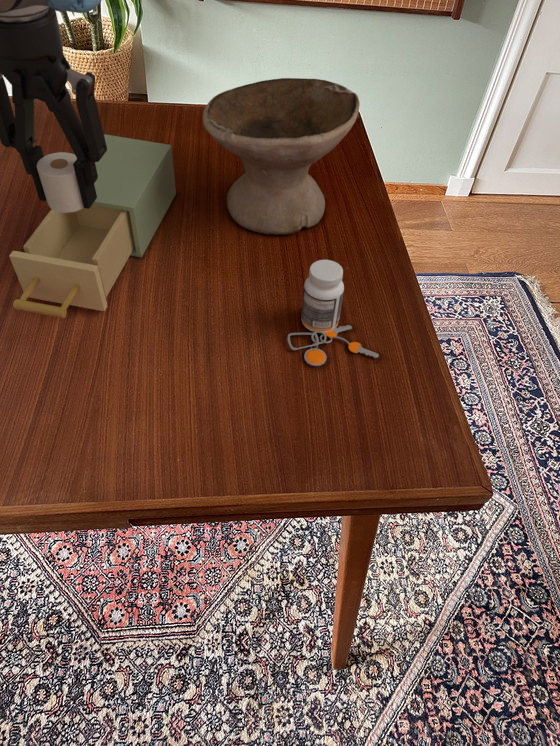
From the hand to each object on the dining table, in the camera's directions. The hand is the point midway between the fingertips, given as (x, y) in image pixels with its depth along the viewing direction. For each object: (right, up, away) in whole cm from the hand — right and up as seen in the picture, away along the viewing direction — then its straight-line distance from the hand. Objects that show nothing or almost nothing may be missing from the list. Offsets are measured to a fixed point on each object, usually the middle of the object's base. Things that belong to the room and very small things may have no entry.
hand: (68, 198), depth 78 cm
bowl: (+28, +7, +27) cm, 40 cm away
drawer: (-2, -9, +11) cm, 14 cm away
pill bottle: (+35, -16, +9) cm, 39 cm away
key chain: (+36, -20, +6) cm, 42 cm away
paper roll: (0, 0, 0) cm, 0 cm away
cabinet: (+1, +3, +22) cm, 22 cm away
